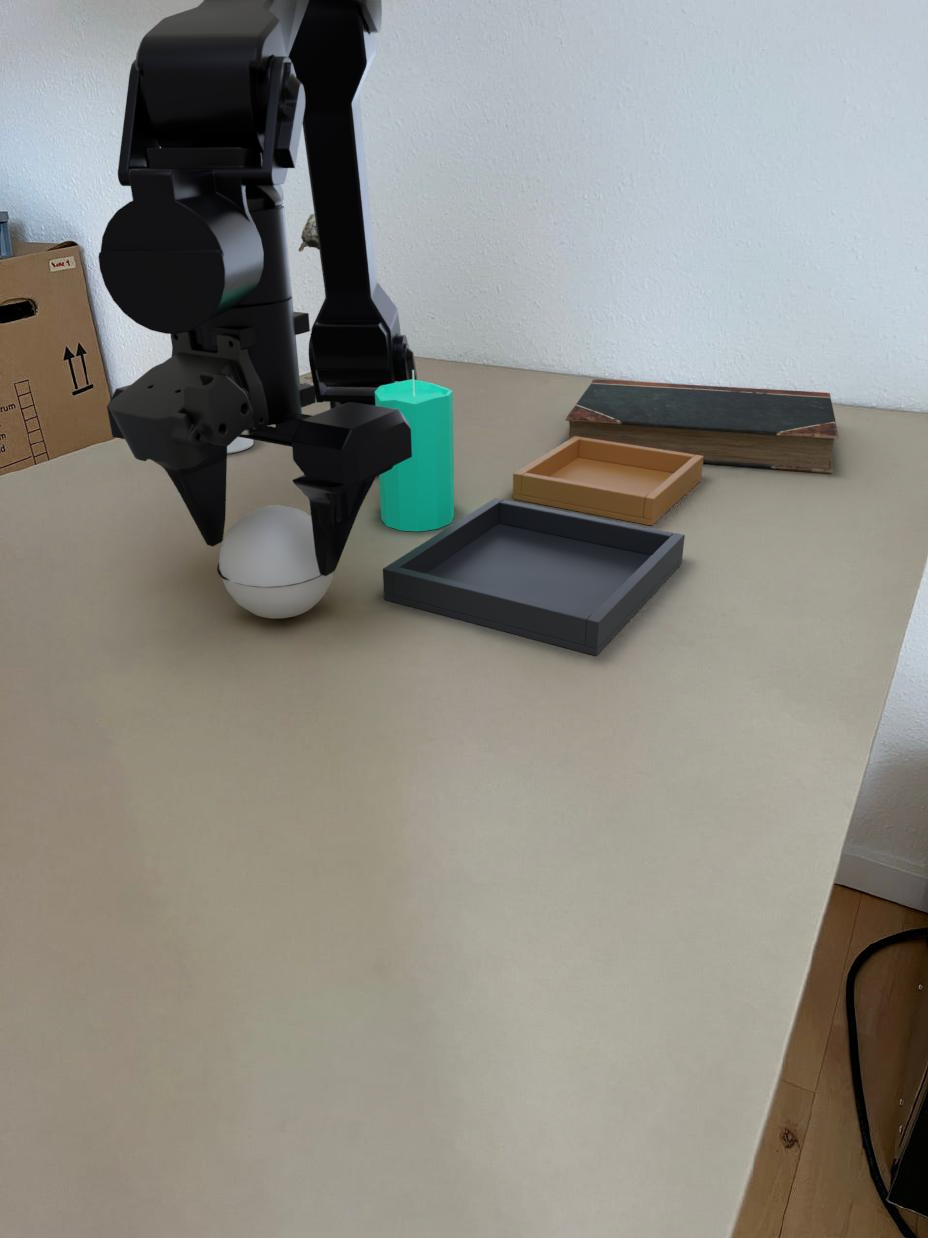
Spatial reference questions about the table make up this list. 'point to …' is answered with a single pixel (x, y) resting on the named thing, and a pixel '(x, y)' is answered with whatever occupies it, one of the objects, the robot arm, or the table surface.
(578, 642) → the dark tray
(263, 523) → the white sphere
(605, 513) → the wood tray
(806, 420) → the book
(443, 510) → the candle
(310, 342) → the robot arm
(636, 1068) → the table surface
